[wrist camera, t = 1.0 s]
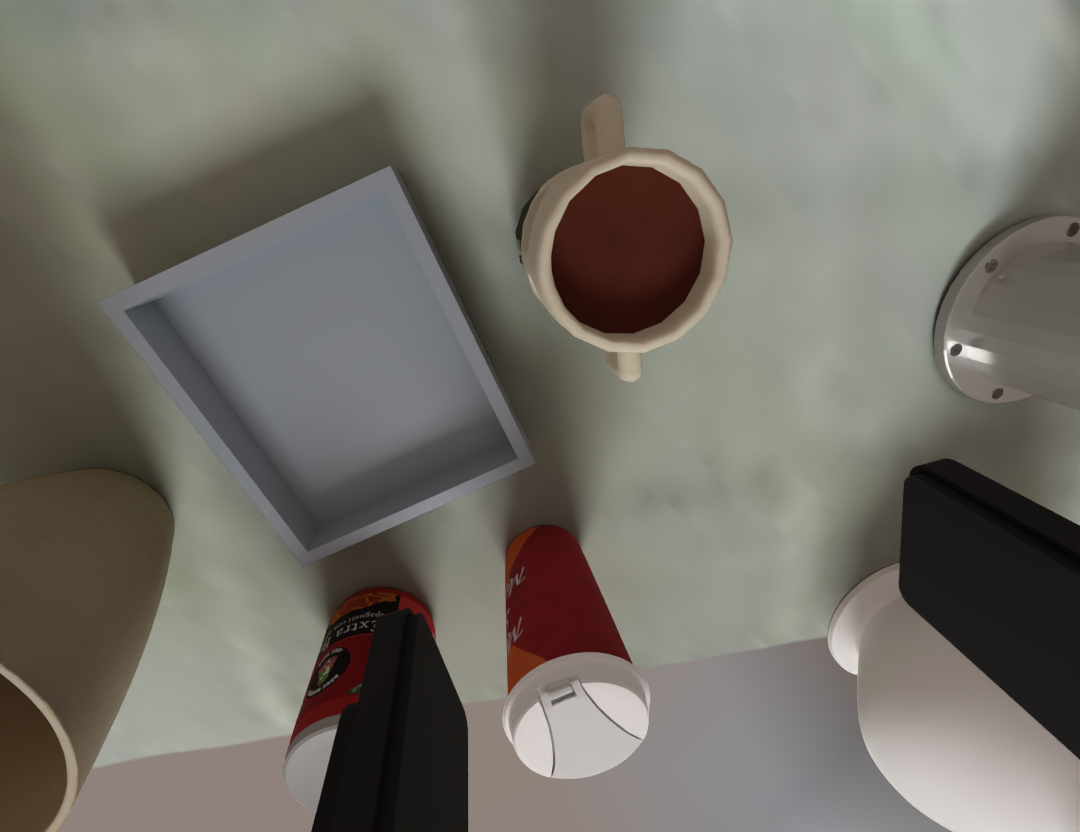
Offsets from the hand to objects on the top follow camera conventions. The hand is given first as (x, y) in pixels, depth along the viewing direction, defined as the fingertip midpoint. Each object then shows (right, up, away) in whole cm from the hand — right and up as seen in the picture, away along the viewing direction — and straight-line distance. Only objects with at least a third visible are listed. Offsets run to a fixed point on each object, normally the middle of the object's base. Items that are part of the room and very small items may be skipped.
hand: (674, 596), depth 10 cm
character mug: (-1, +14, +21) cm, 25 cm away
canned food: (-14, -12, +29) cm, 35 cm away
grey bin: (-14, +6, +22) cm, 26 cm away
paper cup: (-2, -7, +29) cm, 30 cm away
